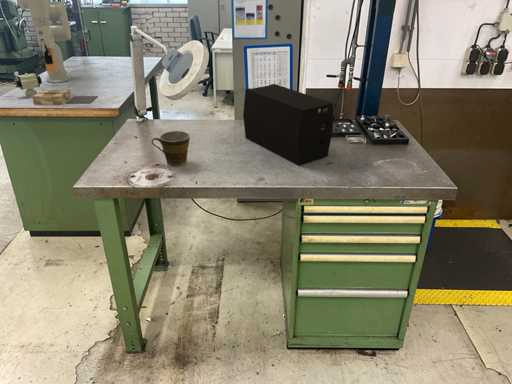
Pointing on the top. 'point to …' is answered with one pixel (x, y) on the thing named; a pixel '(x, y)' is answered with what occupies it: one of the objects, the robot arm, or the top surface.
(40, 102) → the socket block
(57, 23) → the robot arm
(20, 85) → the pneumatic valve
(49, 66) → the peg
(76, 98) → the rubber pad
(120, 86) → the top surface
